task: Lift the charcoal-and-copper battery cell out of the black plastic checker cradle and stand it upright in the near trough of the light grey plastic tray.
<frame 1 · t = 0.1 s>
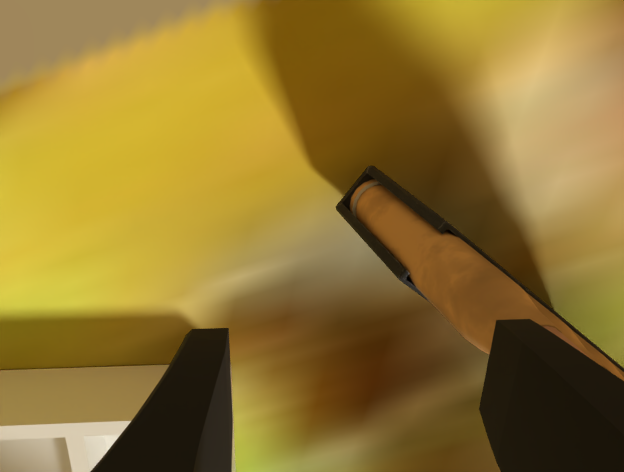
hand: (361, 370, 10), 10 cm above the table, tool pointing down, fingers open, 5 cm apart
ammunition clip: (454, 266, 21), on the table, touching gripper
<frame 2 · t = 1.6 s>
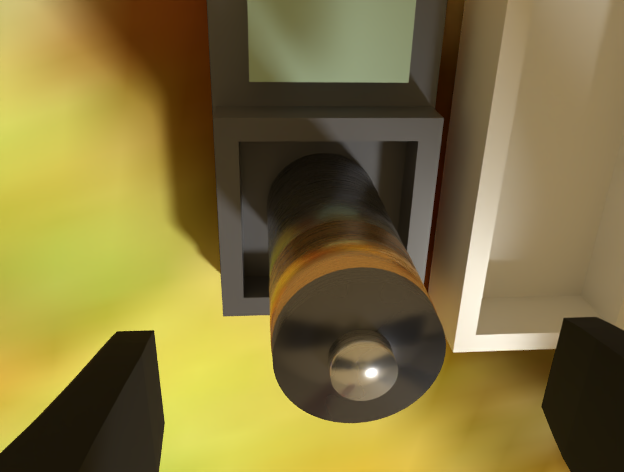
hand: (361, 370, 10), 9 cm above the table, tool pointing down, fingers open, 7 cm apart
trough tray: (617, 110, 18), on the table
checker cradle: (319, 143, 18), on the table
battery cell: (322, 206, 17), point 1 cm above the table, touching checker cradle
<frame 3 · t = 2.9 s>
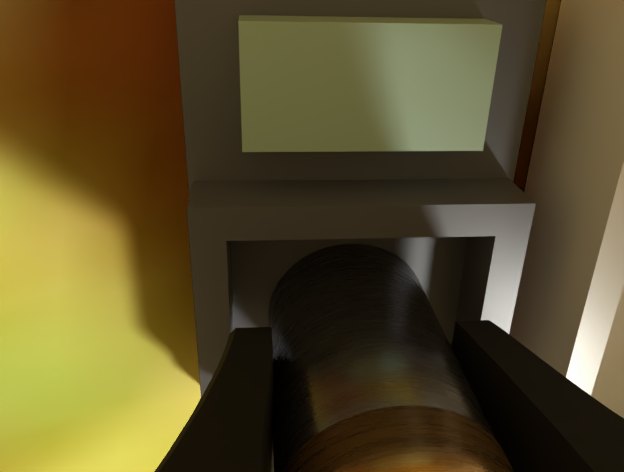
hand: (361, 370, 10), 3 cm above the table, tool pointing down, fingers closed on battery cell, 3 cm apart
checker cradle: (342, 221, 12), on the table
battery cell: (347, 313, 12), point 1 cm above the table, touching checker cradle, gripper
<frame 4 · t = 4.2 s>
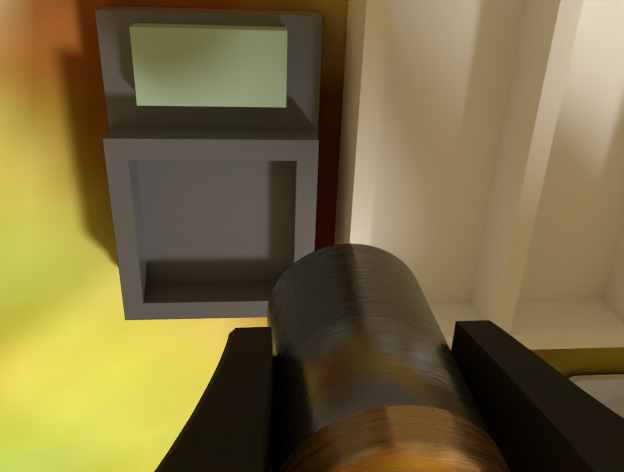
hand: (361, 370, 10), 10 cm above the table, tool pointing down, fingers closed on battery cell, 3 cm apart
trough tray: (497, 131, 19), on the table
checker cradle: (218, 159, 19), on the table
battery cell: (345, 313, 12), point 8 cm above the table, touching gripper
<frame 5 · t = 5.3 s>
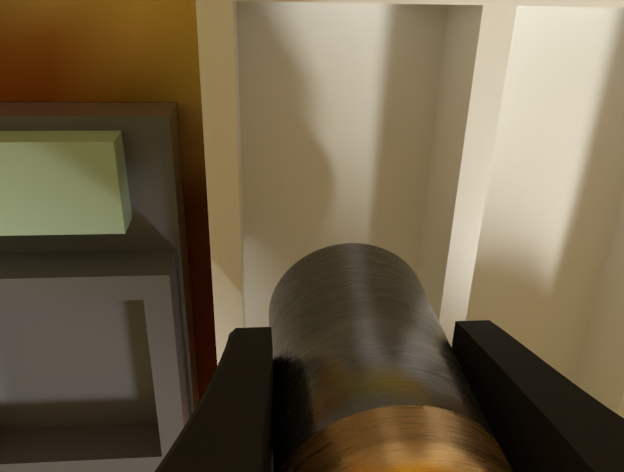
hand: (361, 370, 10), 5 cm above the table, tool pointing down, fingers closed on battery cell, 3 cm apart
trough tray: (420, 237, 15), on the table
checker cradle: (70, 278, 15), on the table
battery cell: (347, 313, 12), point 3 cm above the table, touching gripper
when the fingers open (4 cm above the table, at t = 6.0 s): battery cell stays where it is, resting on trough tray.
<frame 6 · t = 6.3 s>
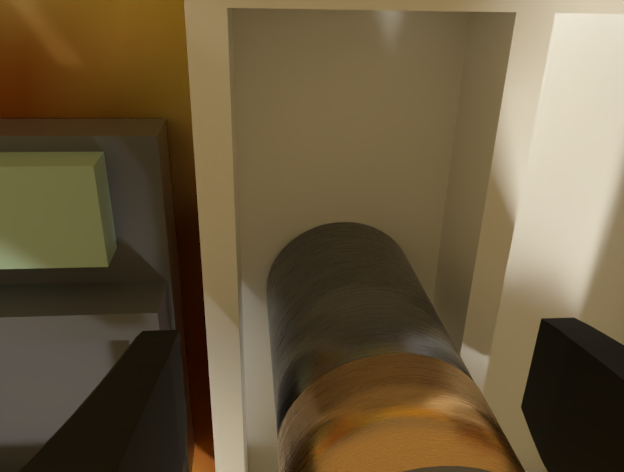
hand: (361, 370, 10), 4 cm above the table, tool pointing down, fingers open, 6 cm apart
trough tray: (435, 263, 14), on the table
checker cradle: (50, 309, 14), on the table
battery cell: (339, 288, 13), point 1 cm above the table, touching trough tray
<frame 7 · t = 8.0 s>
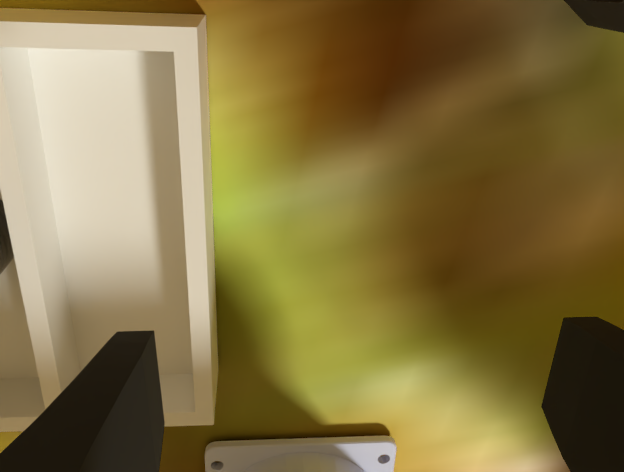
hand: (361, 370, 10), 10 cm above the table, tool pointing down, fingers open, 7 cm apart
trough tray: (56, 216, 20), on the table
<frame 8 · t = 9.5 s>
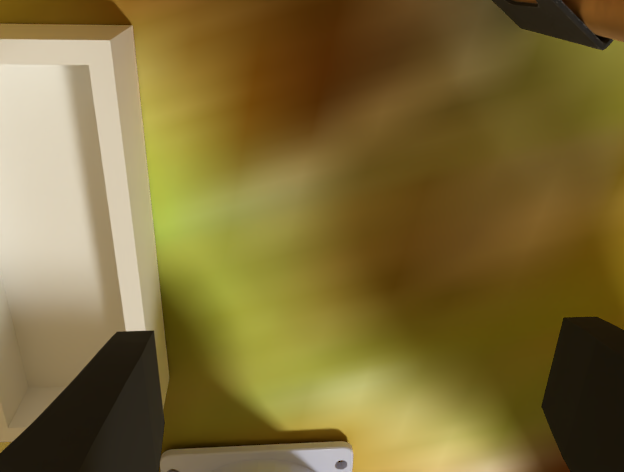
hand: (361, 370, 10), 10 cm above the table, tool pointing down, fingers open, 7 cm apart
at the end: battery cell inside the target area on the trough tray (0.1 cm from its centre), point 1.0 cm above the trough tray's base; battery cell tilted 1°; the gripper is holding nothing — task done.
